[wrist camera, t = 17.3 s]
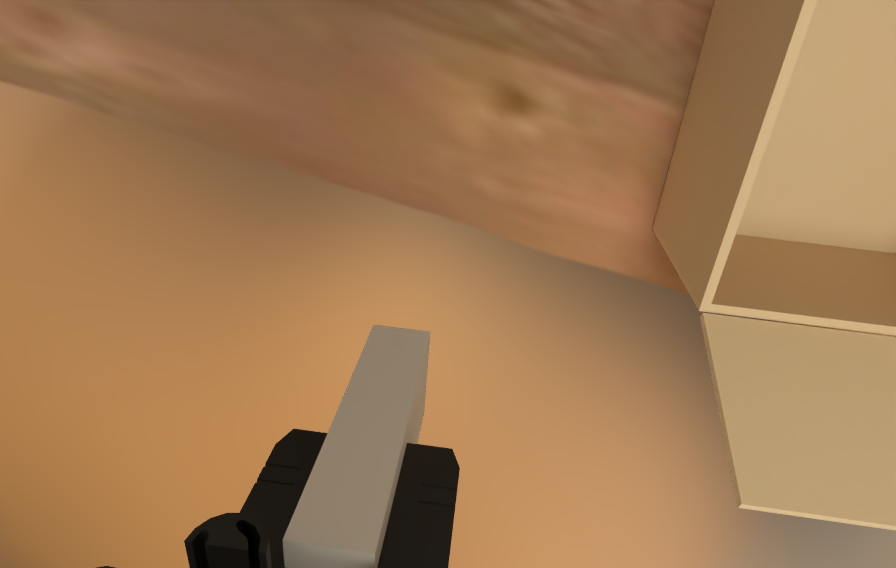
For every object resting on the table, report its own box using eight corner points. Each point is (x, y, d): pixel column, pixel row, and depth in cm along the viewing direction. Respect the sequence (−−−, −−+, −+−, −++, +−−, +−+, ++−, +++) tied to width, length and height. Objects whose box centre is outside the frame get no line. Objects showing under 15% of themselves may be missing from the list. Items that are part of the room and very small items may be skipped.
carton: (745, -111, 37) (859, -162, 25) (1066, -84, 36) (1353, -122, 24) (651, 228, 48) (698, 310, 36) (894, 257, 47) (1029, 352, 35)
